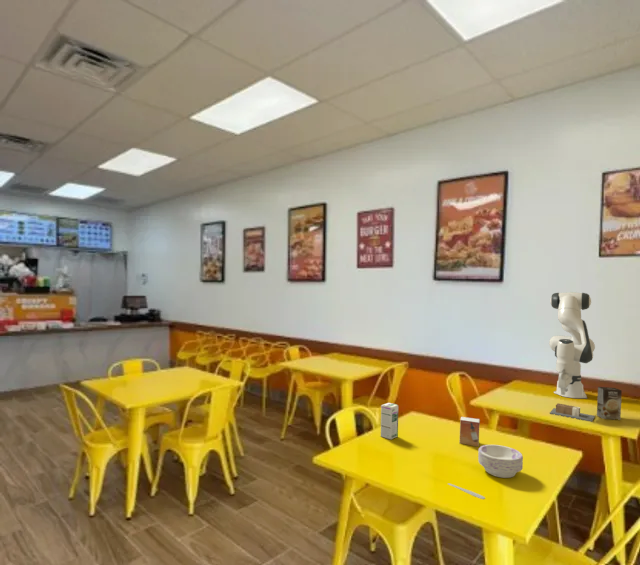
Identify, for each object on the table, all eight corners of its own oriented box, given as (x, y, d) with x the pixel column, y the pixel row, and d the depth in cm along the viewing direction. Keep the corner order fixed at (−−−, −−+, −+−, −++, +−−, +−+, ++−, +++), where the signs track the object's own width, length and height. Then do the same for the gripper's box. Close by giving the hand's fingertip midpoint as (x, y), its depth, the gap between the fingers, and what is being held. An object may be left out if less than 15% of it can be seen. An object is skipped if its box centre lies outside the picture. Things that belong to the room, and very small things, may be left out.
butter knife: (481, 499, 135) (486, 496, 137) (412, 471, 155) (417, 468, 157) (481, 501, 135) (486, 498, 137) (412, 472, 155) (417, 470, 157)
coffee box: (603, 418, 227) (603, 389, 227) (596, 415, 234) (597, 386, 234) (621, 420, 226) (621, 390, 227) (614, 416, 233) (614, 387, 233)
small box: (459, 443, 184) (460, 419, 184) (460, 439, 189) (460, 416, 189) (478, 446, 181) (479, 422, 181) (478, 442, 186) (479, 418, 186)
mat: (553, 409, 243) (553, 408, 243) (594, 416, 231) (594, 415, 231) (549, 413, 234) (549, 412, 234) (592, 421, 221) (592, 420, 221)
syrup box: (391, 439, 186) (392, 407, 186) (380, 436, 190) (381, 404, 190) (398, 436, 190) (399, 404, 190) (387, 433, 194) (388, 402, 194)
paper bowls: (473, 462, 165) (473, 442, 165) (513, 465, 163) (514, 445, 163) (484, 480, 149) (485, 458, 149) (529, 483, 148) (529, 461, 148)
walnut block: (557, 403, 239) (580, 407, 232) (557, 410, 239) (579, 414, 232) (555, 405, 235) (578, 409, 228) (555, 412, 235) (578, 416, 228)
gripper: (568, 372, 225) (567, 398, 225) (574, 366, 241) (573, 390, 241) (555, 370, 229) (554, 395, 229) (561, 365, 245) (561, 388, 245)
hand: (564, 393), depth 235 cm, fingers open, 8 cm apart
